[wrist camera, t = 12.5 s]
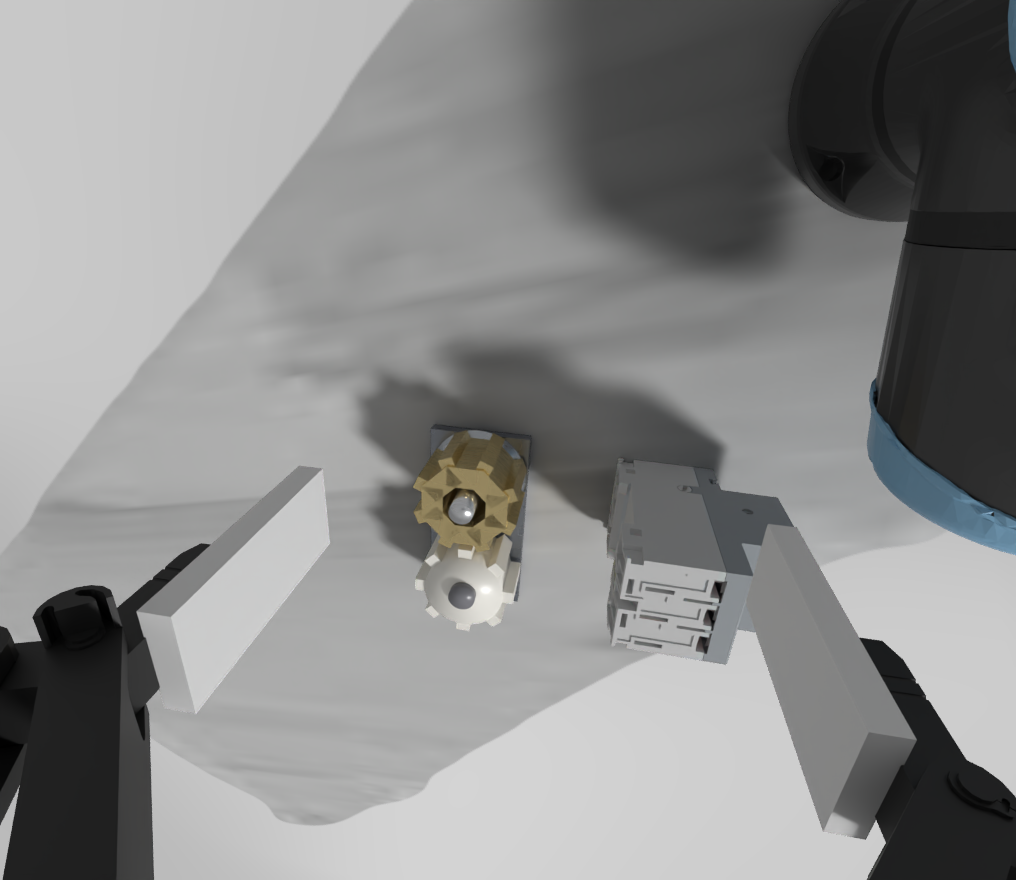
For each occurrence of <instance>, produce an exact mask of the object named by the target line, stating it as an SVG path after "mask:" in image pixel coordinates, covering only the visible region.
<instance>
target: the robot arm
mask: <svg viewBox="0 0 1016 880" xmlns="http://www.w3.org/2000/svg"><path fill="white" fill-rule="evenodd" d="M788 127H789V139H790V145H791V149H792V153H793V157H794V160H795V163H796V165H797V167H798V170H799V172H800V174H801V175H802V177H803V179H804V180H805V182H806V183H807V185H808V186H809V187H810V188H811V190H812V191H813V192H814V193H815V194H816V195H817V196H818V197H819V198H820V199H822V200H823V201H824V202H825V203H827V204H828V205H830V206H831V207H833V208H835V209H836V210H838V211H841V212H843V213H845V214H848V215H851V216H854V217H858V218H862V219H867V220H877V221H887V222H905V221H908V224H907V230H906V235H905V238H904V240H903V244H902V250H901V255H900V260H899V265H898V270H897V275H896V280H895V285H894V290H893V295H892V301H891V306H890V311H889V316H888V321H887V326H886V331H885V336H884V341H883V347H882V352H881V357H880V362H879V367H878V372H877V377H876V378H875V380H874V381H873V382H872V384H871V389H870V393H869V401H870V406H871V418H870V425H869V433H868V440H867V449H868V456H869V458H870V460H871V462H872V463H873V467H874V470H875V471H876V473H877V476H878V477H879V479H880V480H881V482H882V483H883V484H884V485H885V486H886V487H887V488H888V490H889V491H890V492H891V493H892V494H893V495H894V496H896V497H897V498H898V499H899V500H900V501H902V502H903V503H904V504H905V505H907V506H908V507H909V508H911V509H912V510H914V511H915V512H917V513H918V514H920V515H921V516H923V517H925V518H926V519H928V520H930V521H931V522H933V523H935V524H937V525H939V526H940V527H942V528H944V529H946V530H948V531H950V532H953V533H955V534H957V535H959V536H961V537H964V538H966V539H969V540H971V541H974V542H976V543H979V544H981V545H984V546H987V547H990V548H993V549H996V550H999V551H1002V552H1006V553H1010V554H1013V555H1016V0H842V1H841V2H840V3H839V4H838V6H837V7H836V8H835V9H834V10H833V11H832V12H831V14H830V15H829V16H828V17H827V19H826V20H825V21H824V23H823V24H822V26H821V27H820V28H819V30H818V31H817V33H816V35H815V36H814V38H813V39H812V41H811V43H810V45H809V47H808V49H807V50H806V53H805V55H804V57H803V59H802V61H801V64H800V66H799V69H798V72H797V75H796V78H795V81H794V85H793V89H792V93H791V98H790V105H789V117H788ZM329 544H330V538H329V528H328V518H327V508H326V498H325V488H324V478H323V469H321V468H313V467H305V466H298V467H297V468H296V469H295V470H294V471H293V472H292V473H291V474H290V475H288V476H287V477H286V478H285V479H284V480H283V481H282V482H281V483H279V484H278V485H277V486H276V487H275V488H274V489H273V490H272V491H271V492H269V493H268V494H267V495H266V496H265V497H264V498H263V499H262V500H260V501H259V502H258V503H257V504H256V505H255V506H254V507H253V508H251V509H250V510H249V511H248V512H247V513H246V514H245V515H244V516H243V517H241V518H240V519H239V520H238V521H237V522H236V523H235V524H234V525H232V526H231V527H230V528H229V529H228V530H227V531H226V532H225V533H224V534H222V535H221V536H220V537H219V538H218V539H217V540H216V541H215V542H213V543H212V544H211V545H209V544H202V543H201V544H199V545H197V546H195V547H193V548H191V549H189V550H187V551H185V552H183V553H181V554H180V555H179V556H178V557H176V558H175V559H174V560H173V561H172V562H170V563H169V564H168V565H167V566H166V567H165V570H164V569H162V570H161V571H160V572H159V573H158V574H156V575H155V576H154V577H153V580H149V581H148V582H147V583H146V584H145V585H143V586H142V587H141V588H140V589H139V590H138V591H136V592H135V593H134V594H133V595H132V596H131V597H129V598H128V599H127V600H126V601H125V602H123V603H122V604H121V605H120V606H119V607H118V608H116V604H115V601H114V598H113V595H112V592H111V590H110V589H108V588H106V587H104V586H94V585H90V586H83V587H77V588H74V589H71V590H68V591H65V592H62V593H60V594H58V595H56V596H54V597H52V598H50V599H49V600H47V601H46V602H45V603H43V604H42V605H41V606H40V607H39V608H38V609H37V610H36V612H35V614H34V616H33V620H34V622H35V625H36V627H37V630H38V633H39V635H40V638H41V640H42V641H37V642H26V643H15V644H14V642H13V639H12V637H11V634H10V633H9V631H8V629H7V628H4V627H1V626H0V825H1V822H2V820H3V818H4V816H5V814H6V812H7V810H8V808H9V806H10V804H11V801H12V800H13V798H14V796H15V793H16V792H17V789H18V787H19V785H20V788H19V793H18V799H17V804H16V809H15V815H14V820H13V826H12V831H11V837H10V842H9V847H8V853H7V859H6V864H5V869H4V875H3V880H154V868H153V832H152V798H151V762H150V727H149V712H148V708H147V705H146V703H147V702H148V700H149V699H150V698H151V697H152V696H153V695H154V694H155V693H156V692H157V690H158V689H159V691H160V695H161V698H162V702H163V705H164V708H166V709H172V710H177V711H182V712H188V713H193V714H196V713H197V712H198V711H199V709H200V708H201V707H202V706H203V704H204V703H205V702H206V701H207V699H208V698H209V697H210V695H211V694H212V693H213V692H214V690H215V689H216V688H217V687H218V685H219V684H220V683H221V681H222V680H223V679H224V678H225V676H226V675H227V674H228V673H229V671H230V670H231V669H232V667H233V666H234V665H235V664H236V662H237V661H238V660H239V659H240V657H241V656H242V655H243V653H244V652H245V651H246V650H247V648H248V647H249V646H250V645H251V643H252V642H253V641H254V639H255V638H256V637H257V636H258V634H259V633H260V632H261V630H262V629H263V628H264V627H265V625H266V624H267V623H268V622H269V620H270V619H271V618H272V616H273V615H274V614H275V613H276V611H277V610H278V609H279V608H280V606H281V605H282V604H283V602H284V601H285V600H286V599H287V597H288V596H289V595H290V594H291V592H292V591H293V590H294V588H295V587H296V586H297V585H298V583H299V582H300V581H301V580H302V578H303V577H304V576H305V574H306V573H307V572H308V571H309V569H310V568H311V567H312V566H313V564H314V563H315V562H316V560H317V559H318V558H319V557H320V555H321V554H322V553H323V552H324V550H325V549H326V548H327V546H328V545H329ZM746 605H747V608H748V611H749V614H750V617H751V620H752V623H753V626H754V629H755V632H756V634H757V637H758V640H759V643H760V646H761V649H762V652H763V655H764V658H765V661H766V664H767V667H768V670H769V673H770V676H771V679H772V681H773V685H774V688H775V691H776V694H777V696H778V700H779V703H780V705H781V708H782V711H783V714H784V717H785V720H786V723H787V726H788V729H789V732H790V735H791V738H792V741H793V744H794V747H795V749H796V753H797V756H798V759H799V762H800V765H801V767H802V770H803V774H804V776H805V779H806V782H807V785H808V788H809V791H810V794H811V797H812V800H813V803H814V806H815V809H816V812H817V815H818V818H819V821H820V824H821V827H822V830H823V832H828V833H833V834H838V835H844V836H849V837H854V838H860V839H866V838H867V836H868V834H869V832H870V830H871V828H872V827H873V825H874V823H875V820H877V823H878V825H879V827H880V829H881V832H882V834H883V837H884V839H885V841H886V844H885V846H884V848H883V849H882V851H881V853H880V855H879V857H878V859H877V860H876V862H875V864H874V866H873V868H872V870H871V872H870V873H869V875H868V878H867V880H1016V797H1015V796H1014V795H1013V794H1012V793H1011V792H1010V791H1009V789H1008V788H1007V787H1006V786H1005V785H1004V784H1003V783H1002V782H1001V781H1000V780H999V779H997V778H996V777H994V776H993V775H992V774H990V773H989V772H988V771H986V770H985V769H984V768H982V767H979V766H977V765H975V764H973V763H971V762H969V761H967V760H966V759H965V757H964V755H963V754H962V752H961V751H960V749H959V748H958V746H957V744H956V743H955V741H954V740H953V738H952V736H951V735H950V733H949V732H948V730H947V728H946V727H945V725H944V724H943V722H942V721H941V719H940V717H939V716H938V714H937V713H936V711H935V710H934V708H933V706H932V705H931V703H930V702H929V700H926V695H925V694H924V692H923V690H922V689H921V687H920V686H919V684H917V683H916V682H915V681H916V679H915V678H914V676H913V675H912V673H911V672H910V670H909V668H908V667H907V665H906V664H905V662H904V660H903V659H901V658H900V657H899V656H898V655H897V654H896V653H895V652H894V651H893V650H892V649H891V648H889V647H888V646H887V645H886V644H885V643H884V642H883V641H879V640H872V639H865V638H859V637H858V635H857V633H856V632H855V630H854V628H853V626H852V624H851V623H850V621H849V619H848V617H847V616H846V614H845V612H844V610H843V608H842V607H841V605H840V603H839V601H838V600H837V598H836V596H835V594H834V592H833V591H832V589H831V587H830V585H829V584H828V582H827V580H826V578H825V577H824V575H823V573H822V571H821V570H820V568H819V566H818V564H817V562H816V561H815V559H814V557H813V555H812V554H811V552H810V550H809V548H808V546H807V545H806V543H805V541H804V539H803V538H802V536H801V534H800V532H799V531H798V529H797V527H789V526H781V525H773V524H768V525H767V528H766V532H765V535H764V539H763V542H762V546H761V549H760V553H759V556H758V560H757V563H756V567H755V570H754V574H753V577H752V581H751V584H750V588H749V591H748V595H747V598H746Z"/></svg>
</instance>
